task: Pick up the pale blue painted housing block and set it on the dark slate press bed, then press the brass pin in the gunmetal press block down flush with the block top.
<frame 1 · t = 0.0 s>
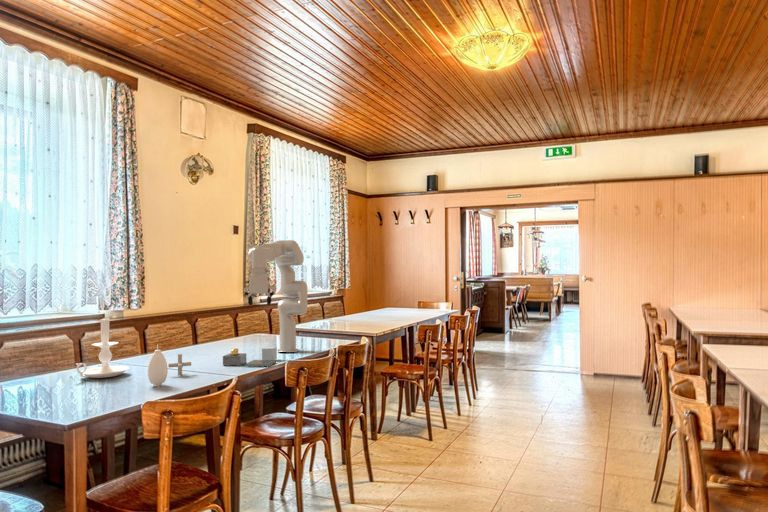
hand: (259, 304, 267), 31 cm above the table, tool pointing down, fingers open, 9 cm apart
pipe connector: (180, 375, 245), on the table
housing: (269, 360, 282), on the table
candlestick: (101, 377, 244), on the table
egg shaped candle: (157, 386, 223), on the table
press block: (234, 364, 272), on the table
brass pin: (234, 353, 272), point 6 cm above the table, slide at 0.0 cm
press bed: (260, 364, 269), on the table
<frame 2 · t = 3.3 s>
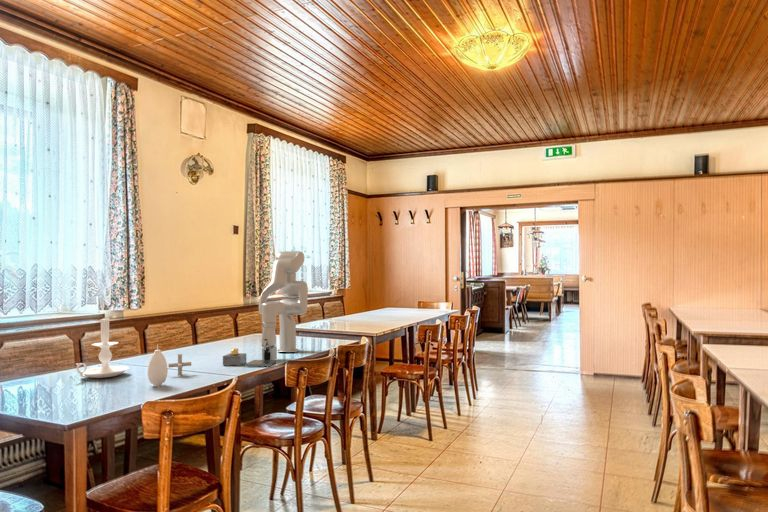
hand: (269, 358, 282), 1 cm above the table, tool pointing down, fingers closed on housing, 6 cm apart
housing: (269, 360, 282), on the table, touching gripper
everything else where it was.
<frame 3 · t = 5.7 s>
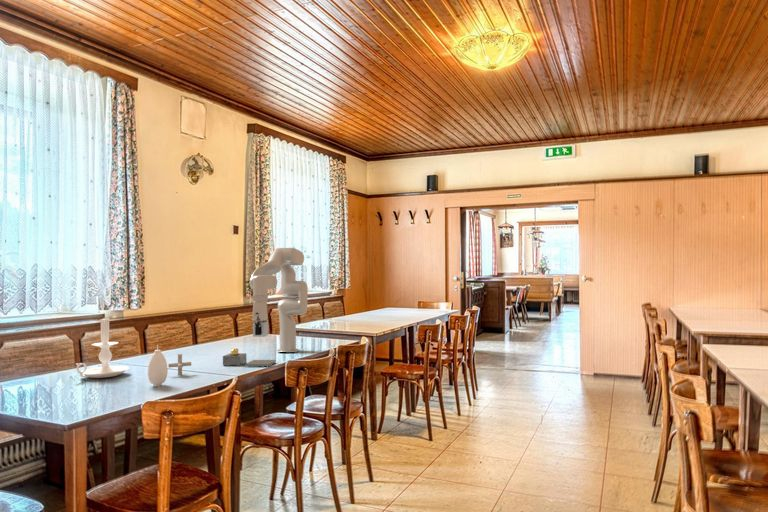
hand: (260, 333, 270), 16 cm above the table, tool pointing down, fingers closed on housing, 6 cm apart
housing: (260, 335, 270), point 15 cm above the table, touching gripper
everything else where it was.
when the fingers open (4 cm above the table, at t = 8.4 s): housing drops 1 cm, resting on press bed.
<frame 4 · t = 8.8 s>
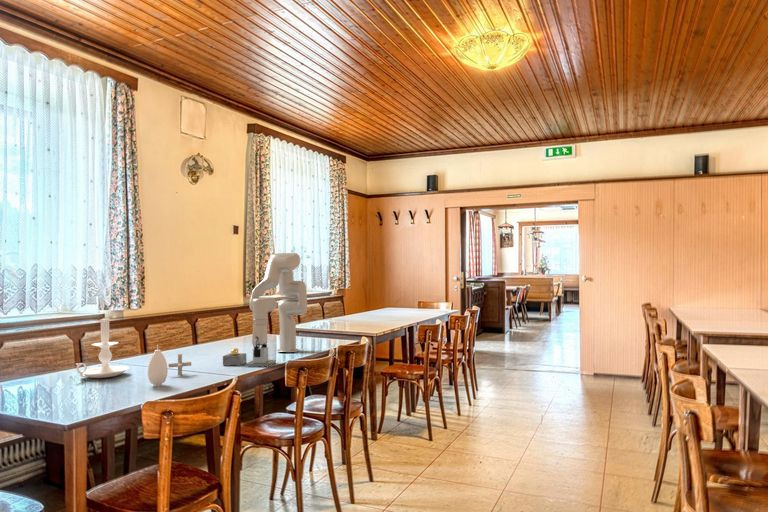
hand: (260, 355, 269), 5 cm above the table, tool pointing down, fingers open, 9 cm apart
housing: (260, 361, 269), point 1 cm above the table, touching press bed
everything else where it was.
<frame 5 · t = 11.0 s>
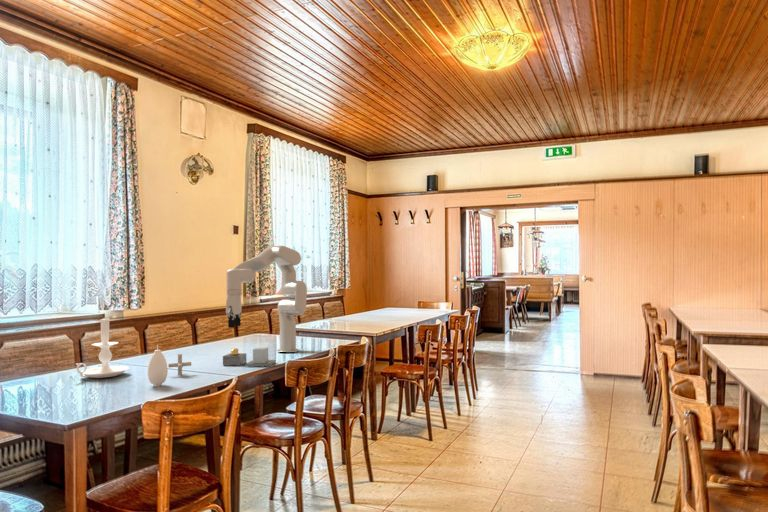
hand: (234, 326, 273), 20 cm above the table, tool pointing down, fingers open, 6 cm apart
nothing on the table moved.
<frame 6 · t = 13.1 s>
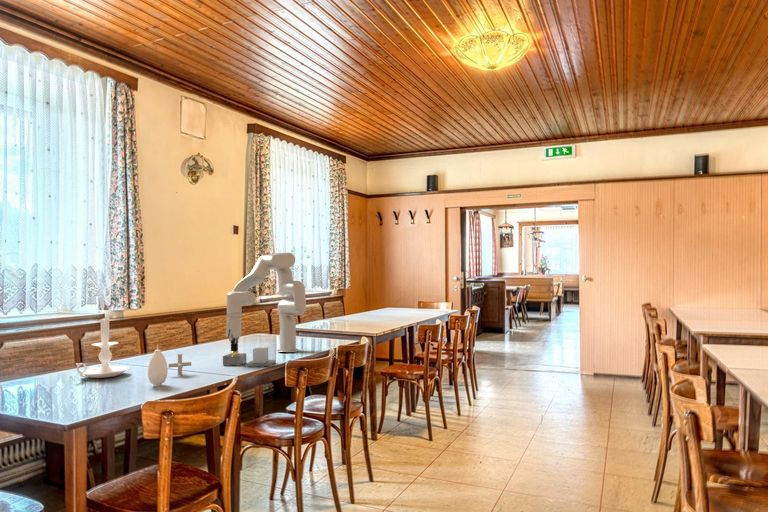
hand: (234, 350, 272), 7 cm above the table, tool pointing down, fingers closed
brass pin: (234, 355, 272), point 5 cm above the table, slide at 1.0 cm, touching gripper
everything else where it was.
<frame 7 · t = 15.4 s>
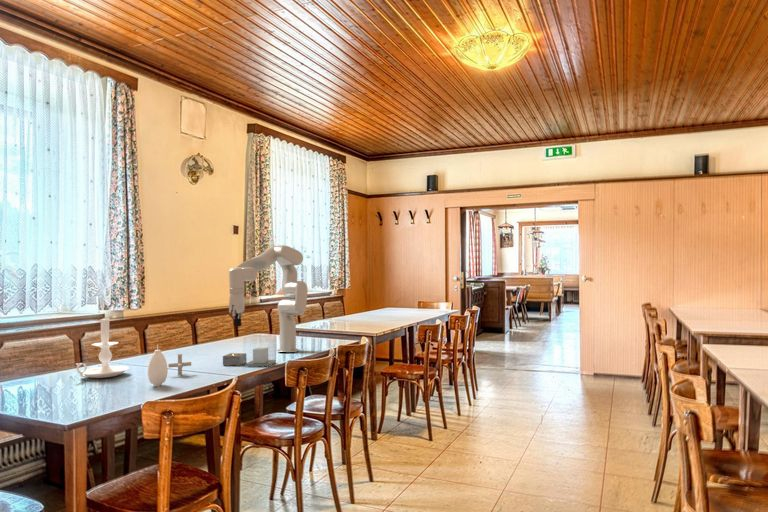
hand: (237, 326, 275), 20 cm above the table, tool pointing down, fingers closed
brass pin: (234, 359, 272), point 3 cm above the table, slide at 3.1 cm
everything else where it was.
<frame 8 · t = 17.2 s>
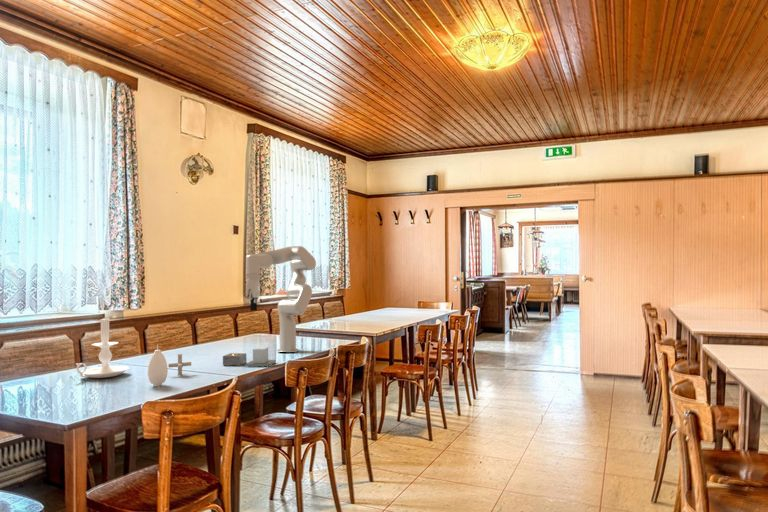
hand: (253, 310, 285), 27 cm above the table, tool pointing down, fingers closed
nothing on the table moved.
at the end: housing 0.1 cm off-centre on the press bed, point 1.5 cm above the press bed's base; housing tilted 0°; brass pin slide at 3.1 cm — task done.
